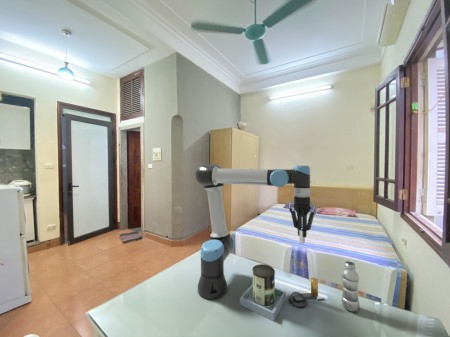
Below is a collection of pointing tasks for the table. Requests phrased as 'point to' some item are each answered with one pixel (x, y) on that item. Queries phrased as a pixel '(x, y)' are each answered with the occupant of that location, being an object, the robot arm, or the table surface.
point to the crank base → (297, 304)
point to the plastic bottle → (350, 287)
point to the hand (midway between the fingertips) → (302, 242)
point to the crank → (307, 296)
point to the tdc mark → (320, 299)
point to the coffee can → (264, 285)
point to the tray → (269, 312)
